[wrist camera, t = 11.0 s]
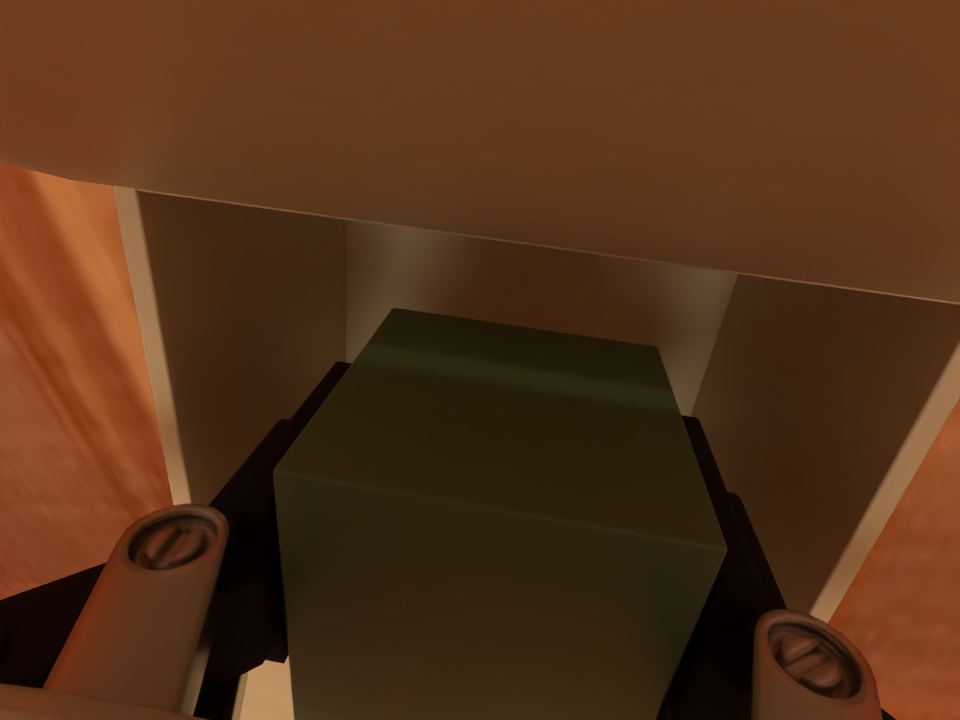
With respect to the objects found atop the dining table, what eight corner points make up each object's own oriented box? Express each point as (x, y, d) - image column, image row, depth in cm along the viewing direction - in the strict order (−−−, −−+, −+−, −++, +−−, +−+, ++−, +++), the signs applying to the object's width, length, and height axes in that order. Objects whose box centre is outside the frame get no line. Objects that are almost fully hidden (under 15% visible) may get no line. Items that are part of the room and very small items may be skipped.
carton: (335, 117, 17) (61, 167, 8) (780, 174, 16) (1077, 306, 7) (341, 537, 24) (210, 811, 15) (639, 591, 23) (687, 915, 14)
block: (392, 306, 11) (269, 470, 6) (658, 345, 10) (730, 549, 6) (385, 507, 13) (293, 731, 8) (603, 544, 13) (623, 799, 8)
